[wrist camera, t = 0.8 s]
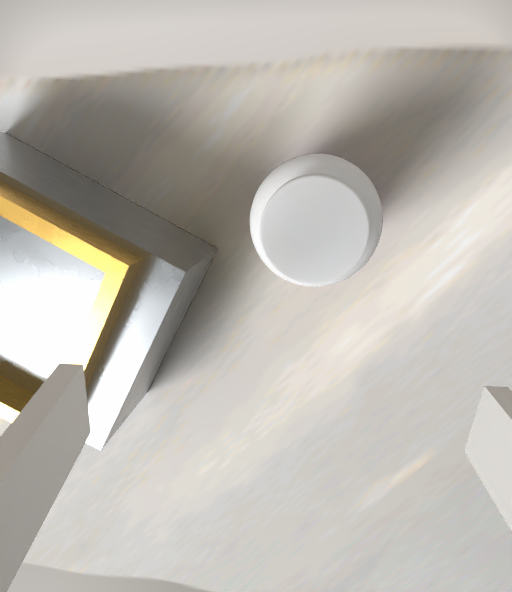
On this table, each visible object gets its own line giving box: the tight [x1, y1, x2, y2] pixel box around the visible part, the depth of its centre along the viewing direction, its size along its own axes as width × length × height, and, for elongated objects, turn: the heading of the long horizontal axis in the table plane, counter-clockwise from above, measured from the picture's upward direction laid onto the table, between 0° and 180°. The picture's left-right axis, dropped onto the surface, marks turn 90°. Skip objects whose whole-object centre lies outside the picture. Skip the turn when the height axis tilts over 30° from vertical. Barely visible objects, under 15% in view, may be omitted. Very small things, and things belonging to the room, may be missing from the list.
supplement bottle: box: [250, 153, 383, 287], centre depth 25 cm, size 7×7×13 cm
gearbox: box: [0, 132, 217, 451], centre depth 30 cm, size 21×14×10 cm, turn 62°
